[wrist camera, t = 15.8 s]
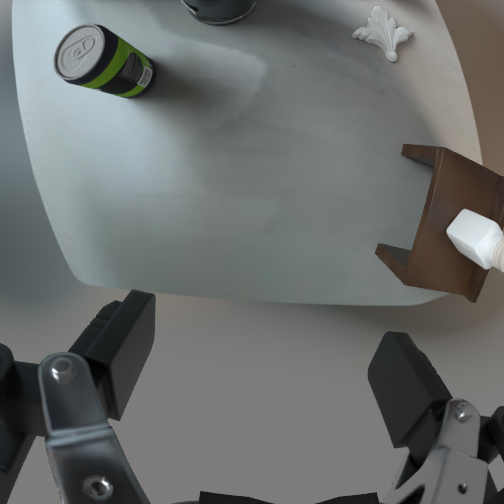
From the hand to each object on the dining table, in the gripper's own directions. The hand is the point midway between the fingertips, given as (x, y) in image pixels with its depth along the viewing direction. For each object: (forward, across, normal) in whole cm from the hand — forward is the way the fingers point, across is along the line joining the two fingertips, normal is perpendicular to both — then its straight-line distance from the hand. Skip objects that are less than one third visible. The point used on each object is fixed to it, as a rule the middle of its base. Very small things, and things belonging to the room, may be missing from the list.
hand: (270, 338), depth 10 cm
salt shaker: (+20, -23, -3) cm, 31 cm away
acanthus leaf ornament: (+30, -12, -26) cm, 42 cm away
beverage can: (+30, +19, -13) cm, 38 cm away
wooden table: (+30, -23, -3) cm, 38 cm away
